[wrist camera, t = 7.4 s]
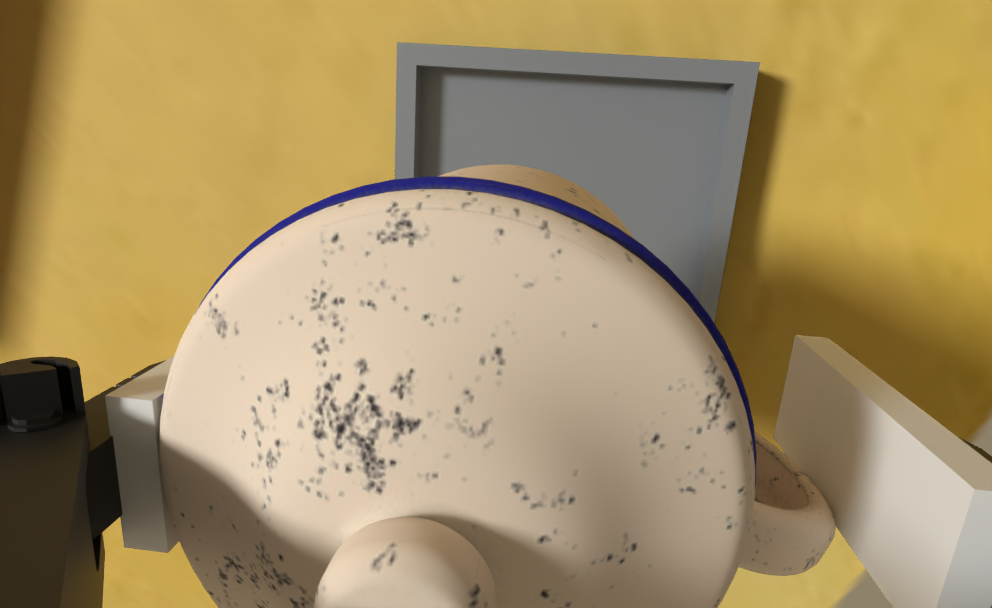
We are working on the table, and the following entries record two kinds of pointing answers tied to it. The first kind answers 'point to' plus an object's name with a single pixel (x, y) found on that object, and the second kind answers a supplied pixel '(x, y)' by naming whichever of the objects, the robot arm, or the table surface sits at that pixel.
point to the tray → (592, 136)
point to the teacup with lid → (469, 414)
